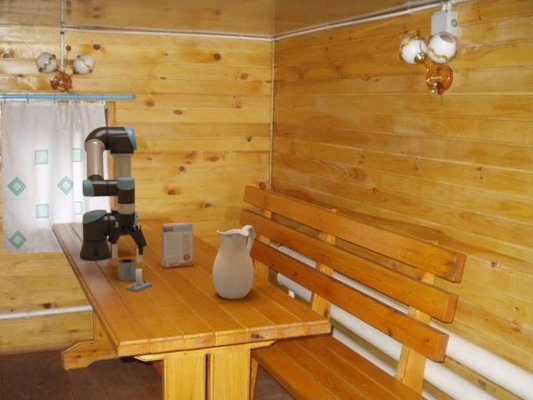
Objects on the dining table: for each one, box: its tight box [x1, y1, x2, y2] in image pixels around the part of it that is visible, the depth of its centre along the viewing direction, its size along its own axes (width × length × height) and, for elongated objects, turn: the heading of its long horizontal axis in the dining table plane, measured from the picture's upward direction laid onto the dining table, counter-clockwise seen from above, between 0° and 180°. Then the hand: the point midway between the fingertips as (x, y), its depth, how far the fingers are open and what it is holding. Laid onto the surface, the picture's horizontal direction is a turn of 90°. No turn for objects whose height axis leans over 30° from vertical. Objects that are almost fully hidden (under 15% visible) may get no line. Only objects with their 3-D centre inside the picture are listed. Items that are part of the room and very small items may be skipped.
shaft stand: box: [125, 268, 153, 293], centre depth 269 cm, size 6×10×8 cm, turn 152°
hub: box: [117, 258, 137, 282], centre depth 282 cm, size 7×7×8 cm
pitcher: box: [212, 224, 256, 300], centre depth 264 cm, size 24×17×28 cm
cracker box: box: [160, 221, 194, 269], centre depth 304 cm, size 14×6×21 cm, turn 113°
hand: (127, 260), depth 281 cm, fingers open, 13 cm apart
